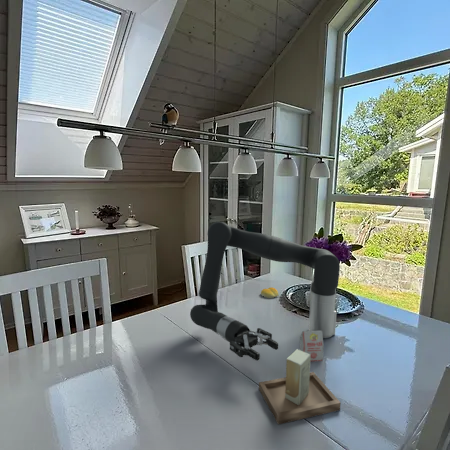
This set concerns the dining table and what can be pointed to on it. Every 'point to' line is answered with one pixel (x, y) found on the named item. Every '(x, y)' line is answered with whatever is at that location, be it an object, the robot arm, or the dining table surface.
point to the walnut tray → (311, 406)
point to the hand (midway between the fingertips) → (268, 351)
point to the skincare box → (297, 376)
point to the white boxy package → (312, 344)
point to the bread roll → (269, 292)
